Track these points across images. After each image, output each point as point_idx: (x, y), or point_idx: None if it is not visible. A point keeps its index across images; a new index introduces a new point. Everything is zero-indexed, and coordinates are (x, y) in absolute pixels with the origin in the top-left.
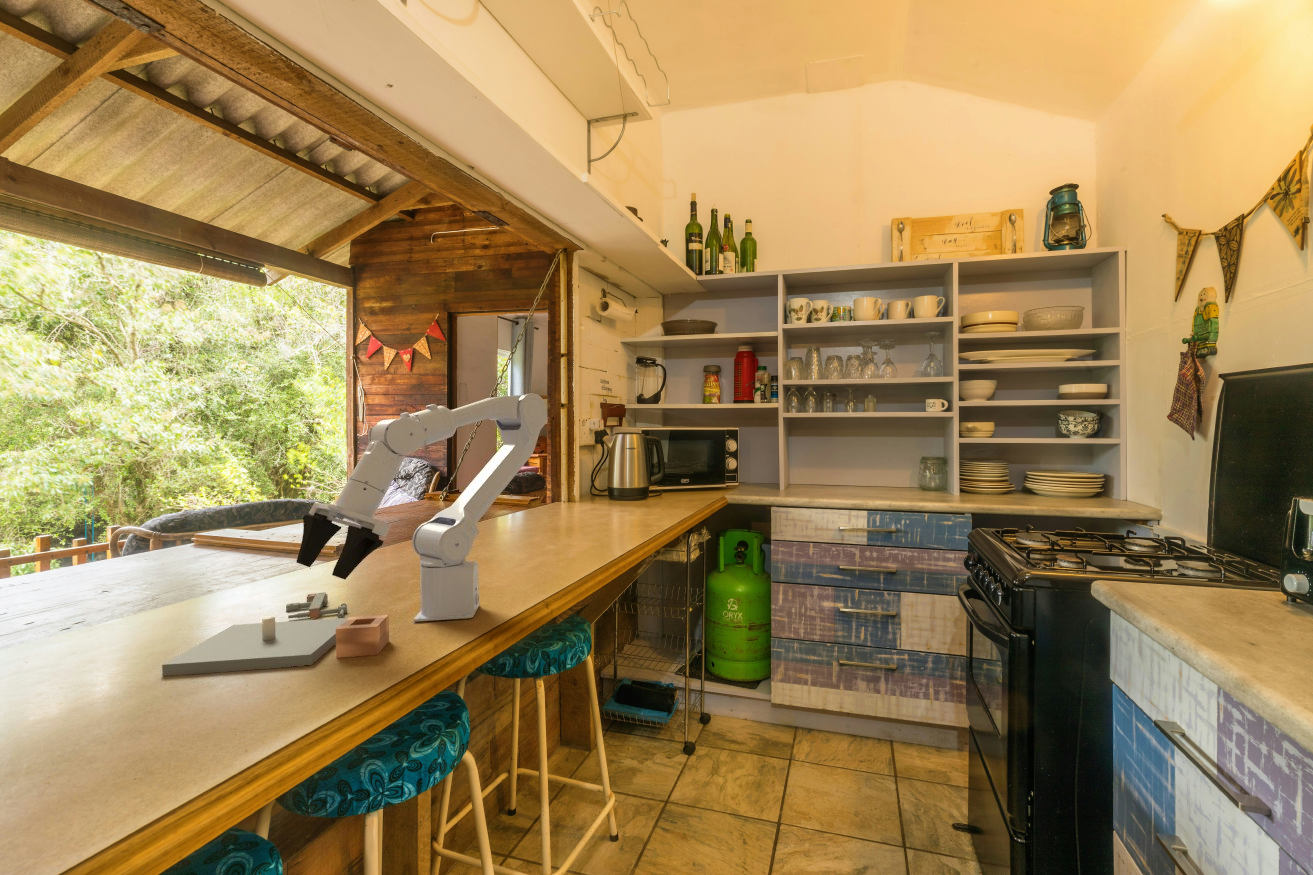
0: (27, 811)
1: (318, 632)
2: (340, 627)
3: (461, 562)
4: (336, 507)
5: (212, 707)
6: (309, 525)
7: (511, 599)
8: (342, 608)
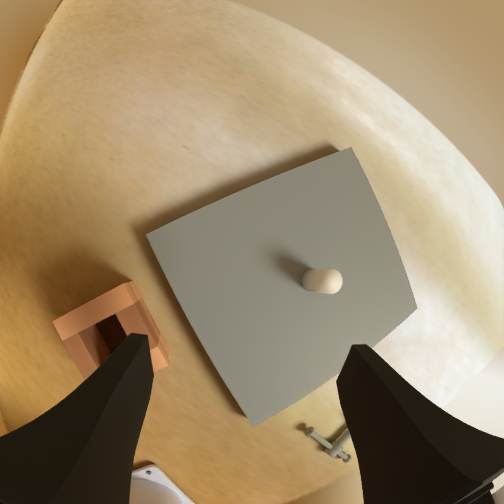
0: None
1: (246, 339)
2: (123, 296)
3: None
4: None
5: (167, 89)
6: (453, 447)
7: None
8: (332, 449)
